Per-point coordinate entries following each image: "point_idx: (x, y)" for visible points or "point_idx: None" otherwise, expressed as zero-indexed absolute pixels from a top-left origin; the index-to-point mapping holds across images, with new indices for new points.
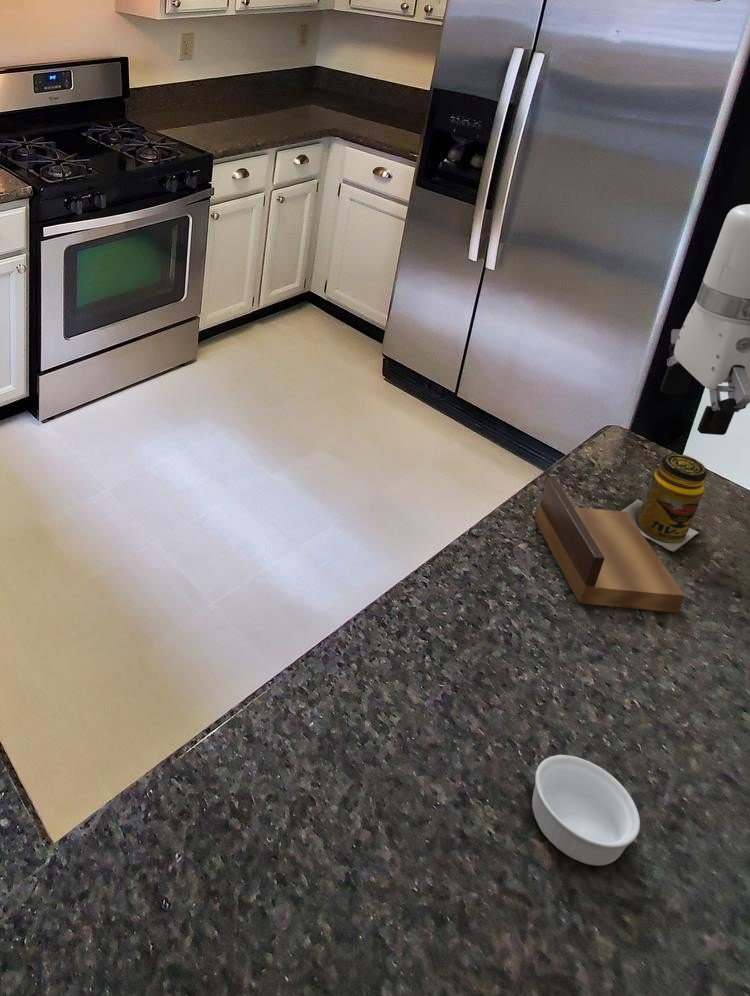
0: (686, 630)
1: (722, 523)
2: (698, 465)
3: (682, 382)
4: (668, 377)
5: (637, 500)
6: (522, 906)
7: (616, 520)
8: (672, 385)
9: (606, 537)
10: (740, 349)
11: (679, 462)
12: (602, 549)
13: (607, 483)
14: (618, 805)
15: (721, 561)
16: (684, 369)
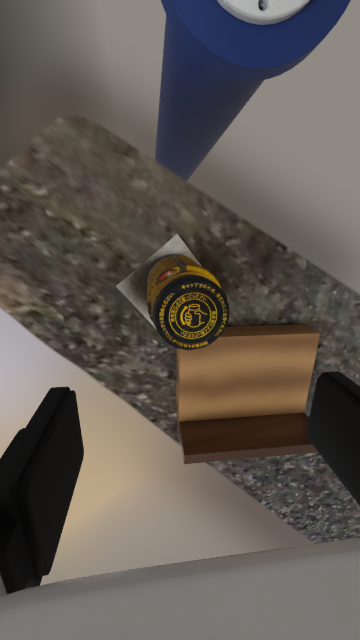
0: (325, 326)
1: (147, 181)
2: (194, 291)
3: (59, 454)
4: (61, 528)
5: (119, 288)
6: None
7: (199, 356)
8: (70, 467)
9: (231, 378)
10: None
11: (185, 323)
12: (251, 388)
13: (81, 309)
14: None
15: (228, 231)
16: (21, 544)
